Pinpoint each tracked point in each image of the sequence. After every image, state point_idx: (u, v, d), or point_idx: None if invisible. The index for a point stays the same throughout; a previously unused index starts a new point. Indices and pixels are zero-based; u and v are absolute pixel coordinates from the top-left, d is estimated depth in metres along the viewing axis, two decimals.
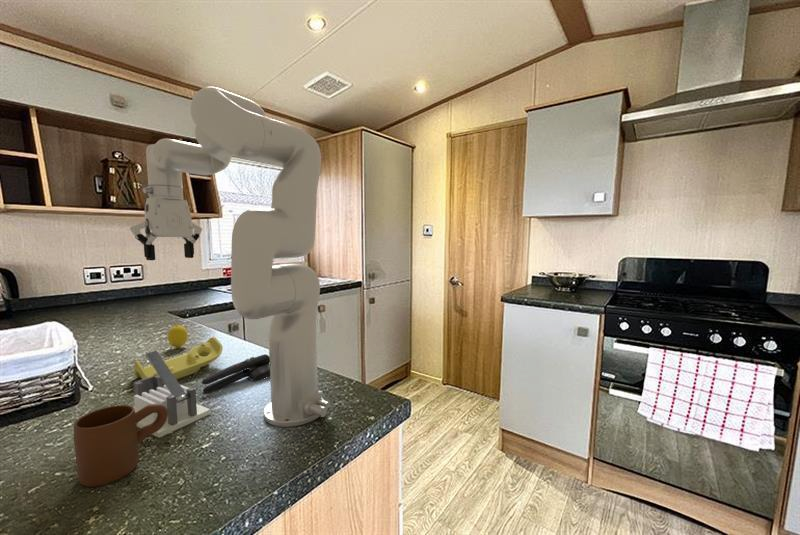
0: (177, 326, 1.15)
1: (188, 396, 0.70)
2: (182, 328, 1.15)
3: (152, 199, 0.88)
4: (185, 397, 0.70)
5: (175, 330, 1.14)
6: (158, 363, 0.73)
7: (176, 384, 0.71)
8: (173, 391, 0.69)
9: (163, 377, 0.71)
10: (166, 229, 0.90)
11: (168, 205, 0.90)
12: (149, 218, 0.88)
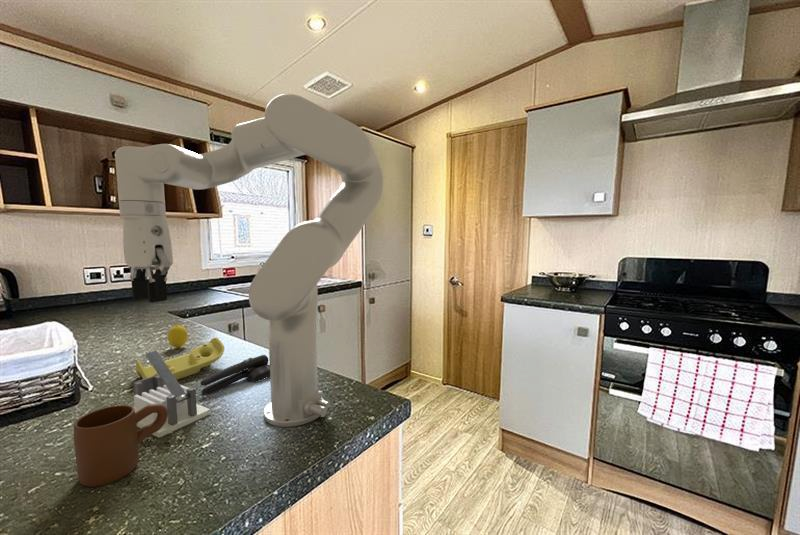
0: (177, 326, 1.15)
1: (188, 396, 0.70)
2: (182, 328, 1.15)
3: (164, 220, 0.70)
4: (185, 397, 0.70)
5: (175, 330, 1.14)
6: (158, 363, 0.73)
7: (176, 384, 0.71)
8: (173, 391, 0.69)
9: (163, 377, 0.71)
10: None
11: None
12: (165, 244, 0.70)
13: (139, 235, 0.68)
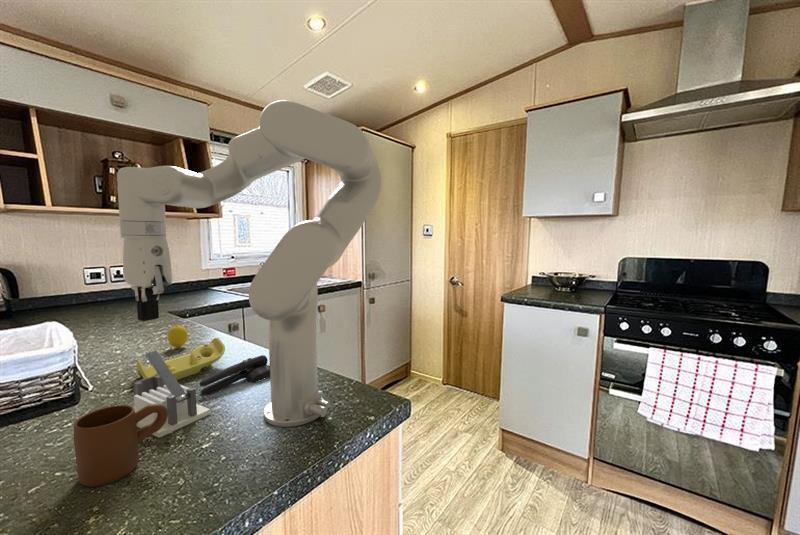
0: (177, 326, 1.15)
1: (188, 396, 0.70)
2: (182, 328, 1.15)
3: (165, 240, 0.70)
4: (185, 397, 0.70)
5: (175, 330, 1.14)
6: (158, 363, 0.73)
7: (176, 384, 0.71)
8: (173, 391, 0.69)
9: (163, 377, 0.71)
10: None
11: None
12: (165, 264, 0.70)
13: (139, 256, 0.68)
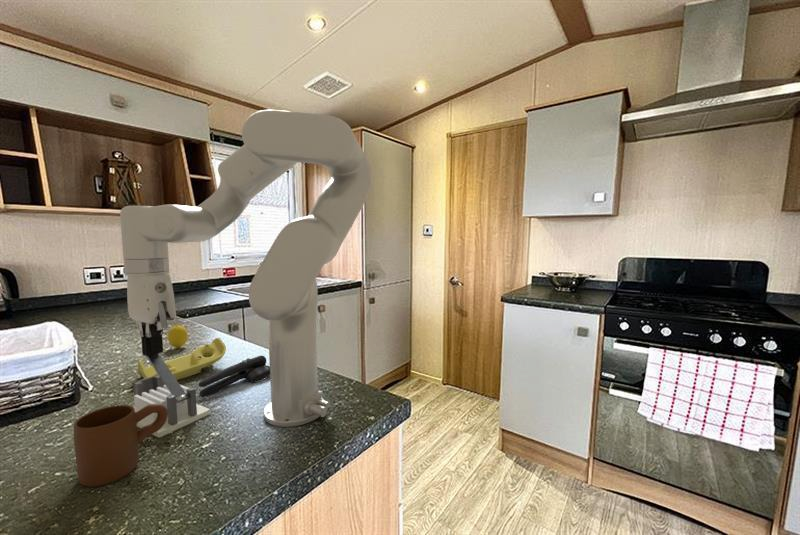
0: (177, 326, 1.15)
1: (188, 396, 0.70)
2: (182, 328, 1.15)
3: (168, 276, 0.71)
4: (185, 397, 0.70)
5: (175, 330, 1.14)
6: (158, 363, 0.73)
7: (176, 384, 0.71)
8: (173, 391, 0.69)
9: (163, 377, 0.71)
10: None
11: None
12: (168, 299, 0.71)
13: (142, 293, 0.69)
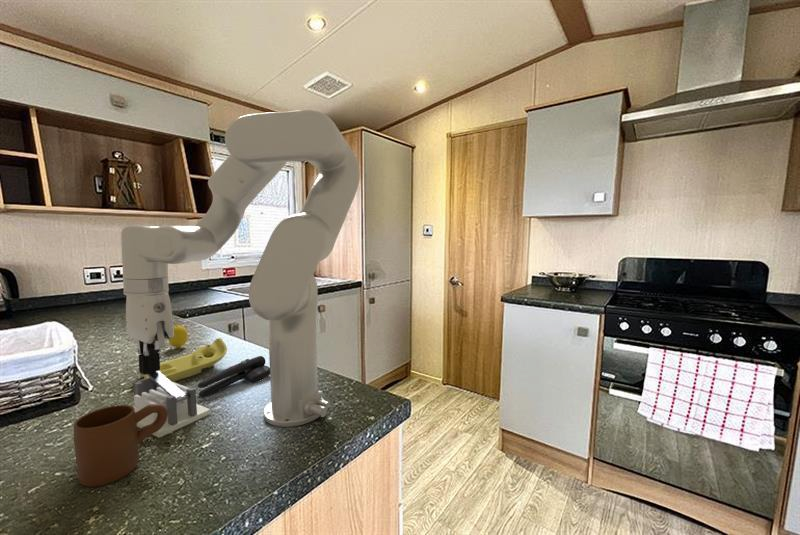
0: (177, 326, 1.15)
1: (188, 395, 0.70)
2: (182, 328, 1.15)
3: (167, 295, 0.72)
4: (185, 396, 0.70)
5: (175, 330, 1.14)
6: (155, 374, 0.74)
7: (175, 388, 0.71)
8: (172, 393, 0.70)
9: (161, 384, 0.71)
10: None
11: None
12: (167, 319, 0.71)
13: (141, 313, 0.69)
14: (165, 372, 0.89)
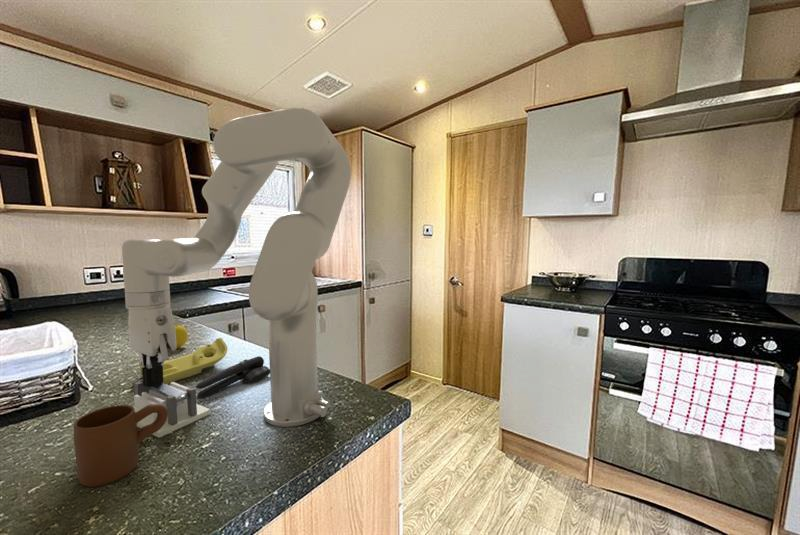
0: (177, 326, 1.15)
1: (188, 395, 0.70)
2: (182, 328, 1.15)
3: (169, 308, 0.72)
4: (185, 396, 0.70)
5: (175, 330, 1.14)
6: None
7: (175, 391, 0.71)
8: None
9: (161, 390, 0.72)
10: None
11: None
12: (169, 332, 0.71)
13: (144, 326, 0.69)
14: (166, 372, 0.90)
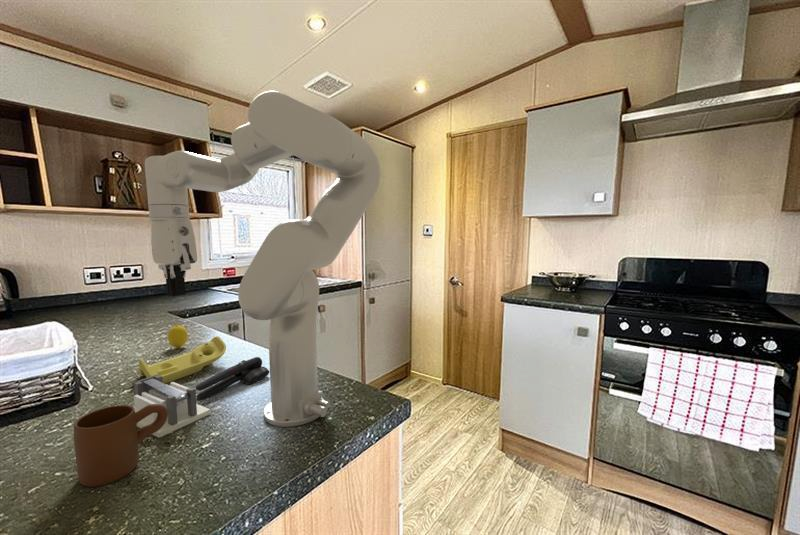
0: (177, 326, 1.15)
1: (188, 395, 0.70)
2: (182, 328, 1.15)
3: (189, 221, 0.78)
4: (185, 396, 0.70)
5: (175, 330, 1.14)
6: (155, 384, 0.74)
7: (175, 391, 0.71)
8: None
9: (161, 390, 0.72)
10: None
11: None
12: (190, 243, 0.77)
13: (167, 235, 0.75)
14: (167, 370, 0.91)
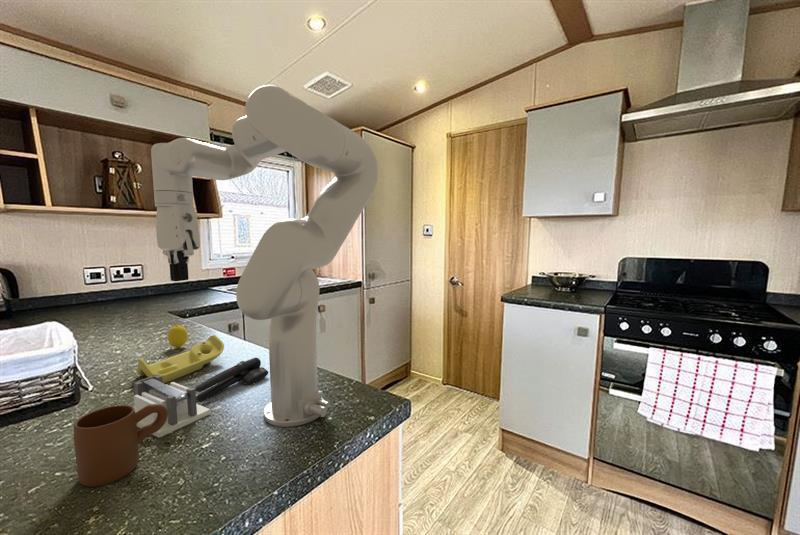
0: (177, 326, 1.15)
1: (188, 395, 0.70)
2: (182, 328, 1.15)
3: (193, 208, 0.79)
4: (185, 396, 0.70)
5: (175, 330, 1.14)
6: (155, 384, 0.74)
7: (175, 391, 0.71)
8: None
9: (161, 390, 0.72)
10: None
11: None
12: (194, 229, 0.79)
13: (171, 221, 0.77)
14: (169, 369, 0.91)
